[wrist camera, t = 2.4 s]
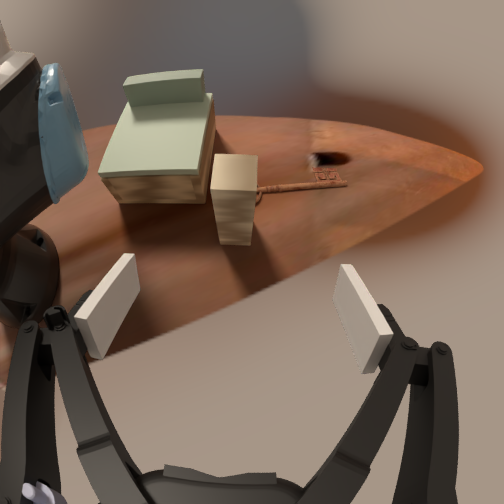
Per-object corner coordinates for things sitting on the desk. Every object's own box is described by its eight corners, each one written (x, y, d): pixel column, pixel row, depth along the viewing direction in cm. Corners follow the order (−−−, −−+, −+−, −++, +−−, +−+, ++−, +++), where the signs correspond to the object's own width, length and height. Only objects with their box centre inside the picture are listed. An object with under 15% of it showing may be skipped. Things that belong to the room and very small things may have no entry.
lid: (101, 177, 27) (82, 151, 22) (131, 103, 31) (121, 78, 26) (198, 174, 27) (191, 143, 22) (212, 98, 31) (210, 68, 27)
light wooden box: (118, 203, 33) (100, 179, 27) (141, 131, 37) (130, 105, 31) (205, 203, 33) (199, 176, 27) (215, 129, 37) (213, 99, 31)
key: (335, 164, 37) (233, 172, 35) (337, 160, 36) (232, 167, 35) (349, 197, 35) (239, 207, 33) (351, 193, 34) (239, 203, 32)
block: (220, 244, 31) (210, 189, 20) (222, 217, 32) (215, 153, 21) (250, 245, 31) (256, 191, 20) (251, 218, 33) (257, 155, 21)
